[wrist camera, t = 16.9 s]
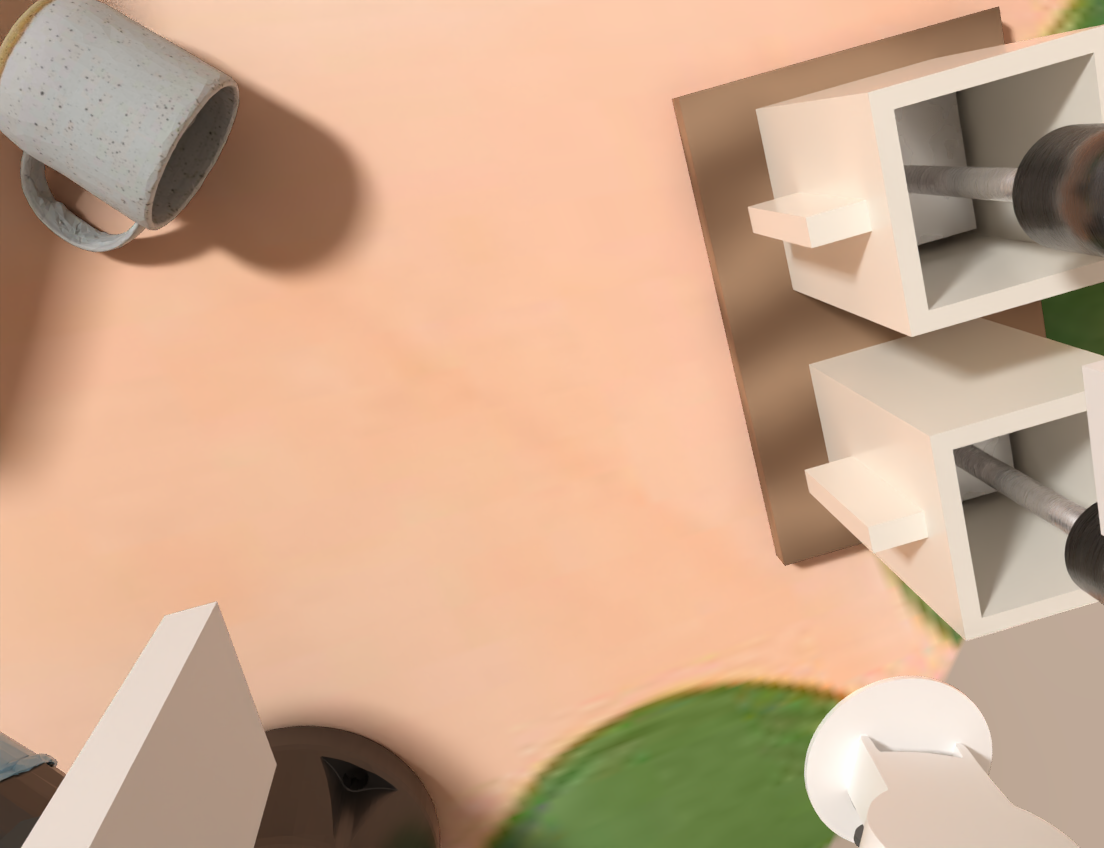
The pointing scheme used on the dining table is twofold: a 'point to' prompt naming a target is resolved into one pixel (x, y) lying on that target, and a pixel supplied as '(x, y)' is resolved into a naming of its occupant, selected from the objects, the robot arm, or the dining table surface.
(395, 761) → the robot arm
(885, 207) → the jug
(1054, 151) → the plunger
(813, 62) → the walnut board
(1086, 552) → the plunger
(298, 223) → the dining table surface
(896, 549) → the square cup with tab
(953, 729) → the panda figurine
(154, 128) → the ceramic mug
